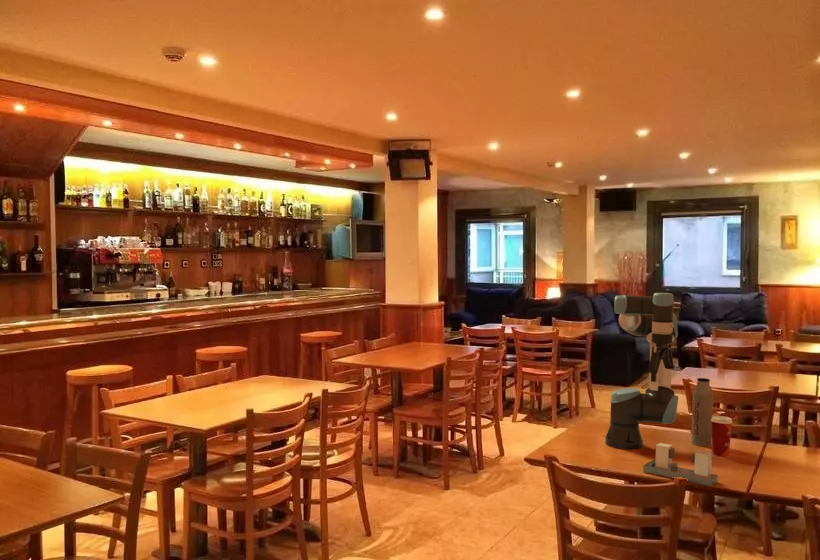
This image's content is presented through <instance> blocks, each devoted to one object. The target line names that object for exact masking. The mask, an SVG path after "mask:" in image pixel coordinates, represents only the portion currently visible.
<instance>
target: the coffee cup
mask: <svg viewBox="0 0 820 560" xmlns="http://www.w3.org/2000/svg"><path fill="white" fill-rule="evenodd" d="M711 422H712V445H711V450H712V451H711V453H712V456H717V457H720V458H721V457H723V458H724V457H725V458H726V457H729V455H730V446H731V437H732V436H731V435H732V428H733V427H732V425H733V424H734V423H733V419H732V418H731V417H729V416H724V415H712V419H711Z"/></svg>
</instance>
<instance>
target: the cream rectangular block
mask: <svg viewBox="0 0 820 560" xmlns="http://www.w3.org/2000/svg"><path fill="white" fill-rule="evenodd" d="M675 452H676V449H675V448H674V447H673V444H667V443H665V442H664V443H663V442H662V443H661V442H659V443H657V444H656V445H655V459H656V465H655V467H659V468H664V469H668V466H669V465H671V464H673V458H675Z"/></svg>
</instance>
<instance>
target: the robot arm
mask: <svg viewBox="0 0 820 560" xmlns="http://www.w3.org/2000/svg"><path fill="white" fill-rule="evenodd" d="M674 299H675V298H674V294H673V293H670V292H655V293H653V296H650V295H649V296H647V295H645V296H643V295H641V296H640V295H625V294H624V295H615V297H614V302H613V303H614V304H613V306H614V309H613V310H614V314H618V315H619V316H618V324H619V327H620V328H621V329H622V330H623V331H625V332H626V333H628V334H630V335H632V336H636V337H646V341H647V342H648V343H649V364H648V369H647V373H649V375H648V376H649V377H648V378H649V380H648V381H649V382H648V384H649V385H648V387H647V388H646V389H645V393H643V392H641V390H640V389H639V388H619V389H616V390H614V391H612V392H611V394H610V413H609V414H610V416H609V417H610V419H609V420H610V423H609V427H608V430H607V432H606V434H605V439H604V440H605V442H604V443H605V445H608V446H610V447H612V448H617V449H623V450H624V449H625V450H637V449H638V450H639V449H641V448H643V445H644V440H643V437H642V433H641V429H640V422H647V423H655V424H662V425H664V424H670V425H671V424H673V423H675V421H676V417H677V411H678V404H679V396H678V395H676V394H675V391H674V390H673V389H672V387H671V386H672V370H674V369H675V364H674V359H673V358H674V357H673V353H672V344H673V343H674V341H675V339H677V338H678V336H679V331H678V329H679V328H678V321H677V320H678V319H677V316H676V314H675V313H674V306H675V305H674V303H675V301H674Z"/></svg>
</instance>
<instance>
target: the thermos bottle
mask: <svg viewBox="0 0 820 560" xmlns="http://www.w3.org/2000/svg"><path fill="white" fill-rule="evenodd" d="M710 382H711V379H709V378H707V377H706V378H704V377H698V378H697V381H696V385H694V390H693V391H692V407H691V409H692V410H691V414H692V417H691V418H692V419H691V439H690V440H691V441H690V442H691V443H690V444H692V445H694V446H698V447H712V422H711V419H712V416H714V415H713V410H714V406H713V405H714V392H712V386H710Z"/></svg>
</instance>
